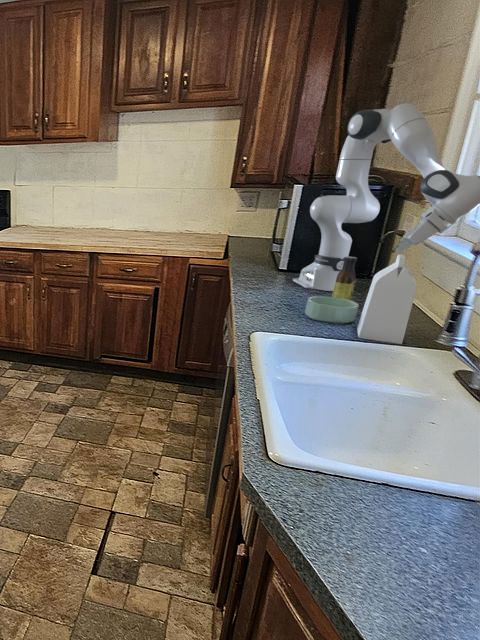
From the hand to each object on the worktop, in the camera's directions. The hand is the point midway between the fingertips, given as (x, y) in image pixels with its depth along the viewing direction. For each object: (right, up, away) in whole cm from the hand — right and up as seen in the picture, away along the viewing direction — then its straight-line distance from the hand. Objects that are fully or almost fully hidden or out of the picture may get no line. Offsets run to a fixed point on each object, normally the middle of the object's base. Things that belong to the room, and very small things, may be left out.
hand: (395, 250), depth 185 cm
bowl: (-20, -23, +5) cm, 31 cm away
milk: (-16, -31, -13) cm, 37 cm away
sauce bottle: (-10, -19, +15) cm, 27 cm away
